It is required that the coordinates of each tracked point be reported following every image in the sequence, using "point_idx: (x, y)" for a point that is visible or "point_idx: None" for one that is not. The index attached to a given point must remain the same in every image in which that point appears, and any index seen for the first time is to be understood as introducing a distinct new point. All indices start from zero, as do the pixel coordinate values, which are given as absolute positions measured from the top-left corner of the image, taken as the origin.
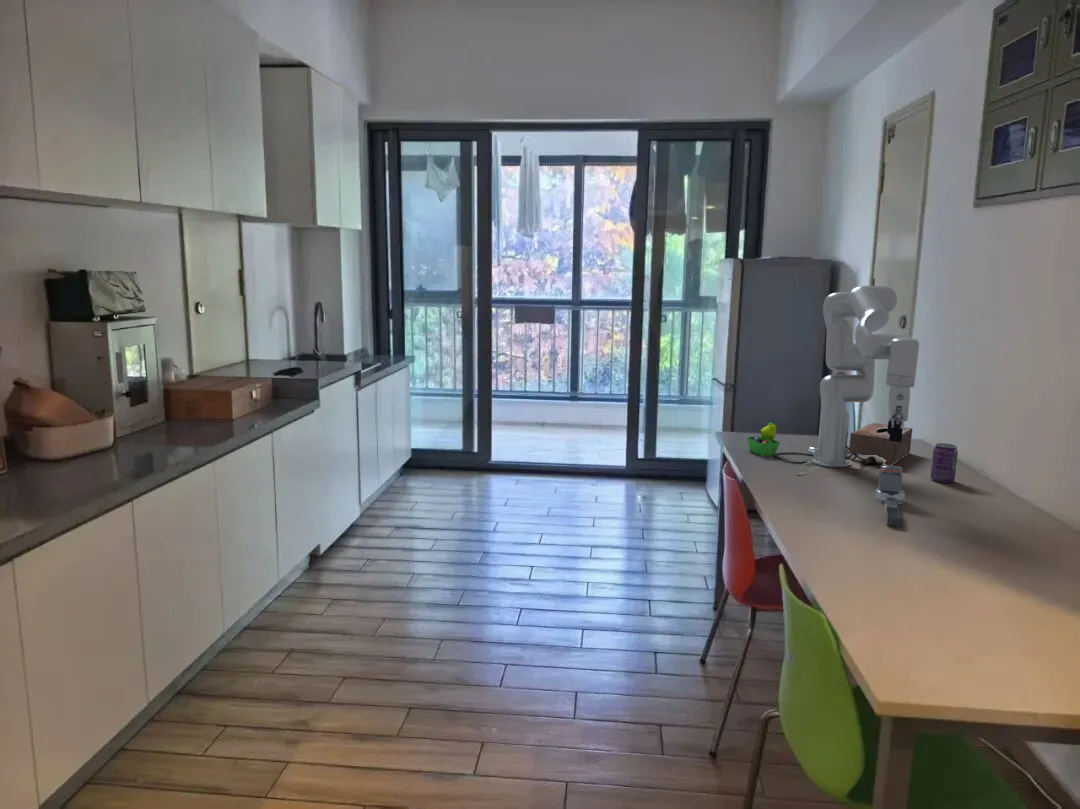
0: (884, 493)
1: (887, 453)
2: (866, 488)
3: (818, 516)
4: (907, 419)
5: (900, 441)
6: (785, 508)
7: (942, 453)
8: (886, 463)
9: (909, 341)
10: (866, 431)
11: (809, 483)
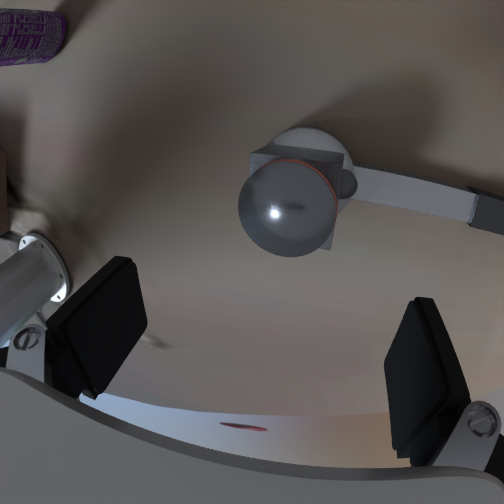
0: (345, 204)
1: None
2: (194, 218)
3: (464, 349)
4: (502, 486)
5: (429, 301)
6: None
7: (4, 37)
8: (2, 161)
9: None
10: None
11: (215, 340)
